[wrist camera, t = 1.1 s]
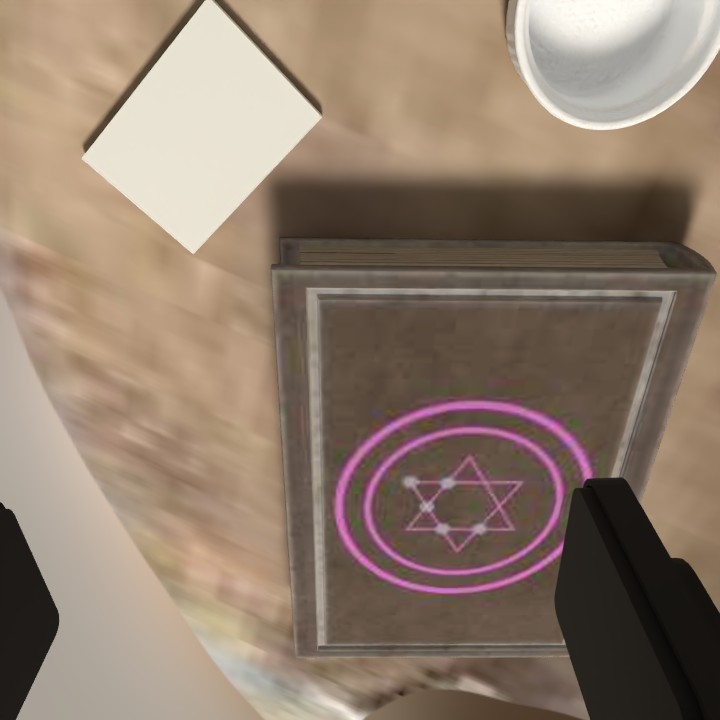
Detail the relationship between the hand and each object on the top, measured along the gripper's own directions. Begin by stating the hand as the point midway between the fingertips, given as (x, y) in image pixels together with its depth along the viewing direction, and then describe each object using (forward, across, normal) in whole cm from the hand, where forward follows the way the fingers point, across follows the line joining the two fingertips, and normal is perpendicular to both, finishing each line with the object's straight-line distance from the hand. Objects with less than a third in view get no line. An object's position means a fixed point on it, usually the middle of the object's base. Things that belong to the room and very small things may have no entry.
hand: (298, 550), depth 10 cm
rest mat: (+25, +7, -3) cm, 26 cm away
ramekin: (+25, -12, -7) cm, 29 cm away
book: (+26, -7, +19) cm, 32 cm away
